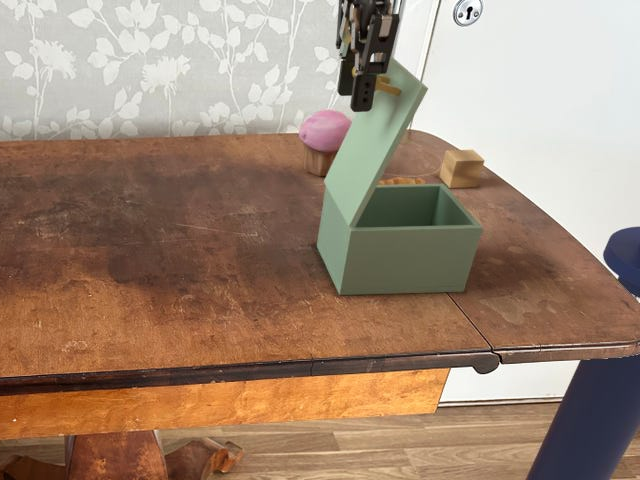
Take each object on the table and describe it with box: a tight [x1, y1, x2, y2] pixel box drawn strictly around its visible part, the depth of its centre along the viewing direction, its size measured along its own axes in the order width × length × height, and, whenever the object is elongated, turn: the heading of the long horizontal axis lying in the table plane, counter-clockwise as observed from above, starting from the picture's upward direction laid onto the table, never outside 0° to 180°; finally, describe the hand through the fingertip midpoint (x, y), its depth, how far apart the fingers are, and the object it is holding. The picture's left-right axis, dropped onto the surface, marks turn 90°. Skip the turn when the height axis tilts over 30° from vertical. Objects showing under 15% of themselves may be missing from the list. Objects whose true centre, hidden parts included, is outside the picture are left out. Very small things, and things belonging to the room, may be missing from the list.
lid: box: [323, 55, 429, 228], centre depth 81 cm, size 16×13×5 cm
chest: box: [316, 183, 484, 296], centre depth 89 cm, size 16×13×9 cm
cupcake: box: [298, 109, 353, 177], centre depth 114 cm, size 9×9×10 cm
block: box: [438, 149, 485, 189], centre depth 112 cm, size 4×4×4 cm
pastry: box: [377, 176, 427, 185], centre depth 106 cm, size 9×7×4 cm
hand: (353, 101), depth 78 cm, fingers closed on lid, 5 cm apart
